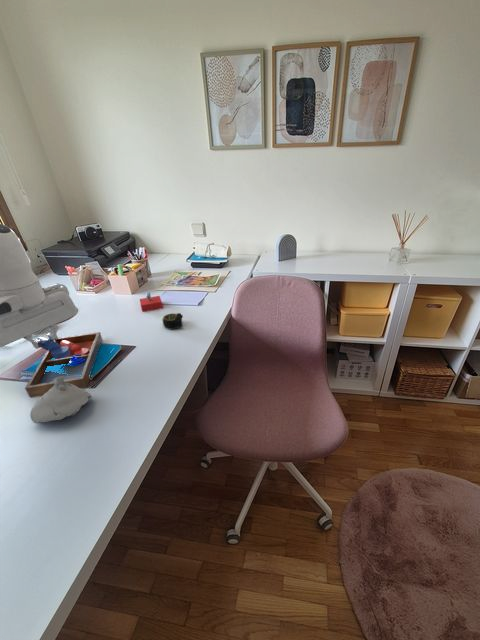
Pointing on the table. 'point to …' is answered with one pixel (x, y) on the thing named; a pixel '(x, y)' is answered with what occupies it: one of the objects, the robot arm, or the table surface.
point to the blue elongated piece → (54, 348)
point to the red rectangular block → (151, 303)
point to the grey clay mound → (59, 402)
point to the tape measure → (172, 320)
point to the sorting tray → (66, 366)
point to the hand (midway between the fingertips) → (46, 343)
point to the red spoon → (75, 348)
